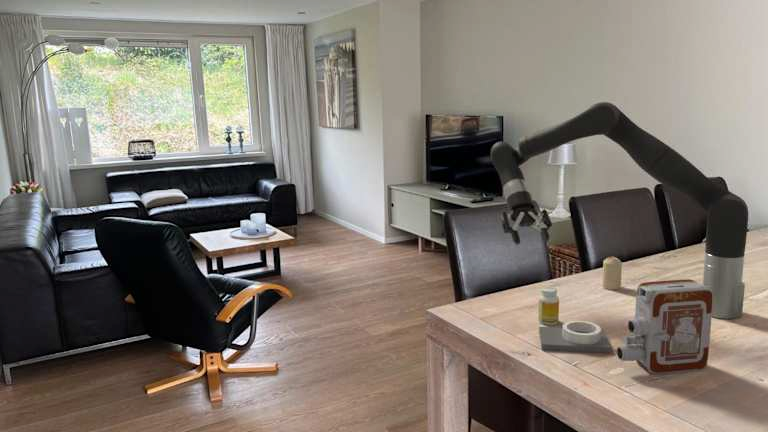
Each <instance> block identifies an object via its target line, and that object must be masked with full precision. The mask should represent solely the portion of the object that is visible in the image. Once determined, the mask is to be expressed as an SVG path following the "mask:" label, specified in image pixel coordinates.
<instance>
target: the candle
mask: <svg viewBox="0 0 768 432" xmlns="http://www.w3.org/2000/svg"><path fill="white" fill-rule="evenodd" d="M602 264H603V265H602V267H603V268H602V288H603V289H605V290H610V291H617V290H621V287H622V271H623V269H622V268H623V267H622V266H623V262H622V261H621V260H620V259H619V258H617V257H615V256H608V257H607V258H605V259H604V260H603V263H602Z"/></svg>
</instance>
